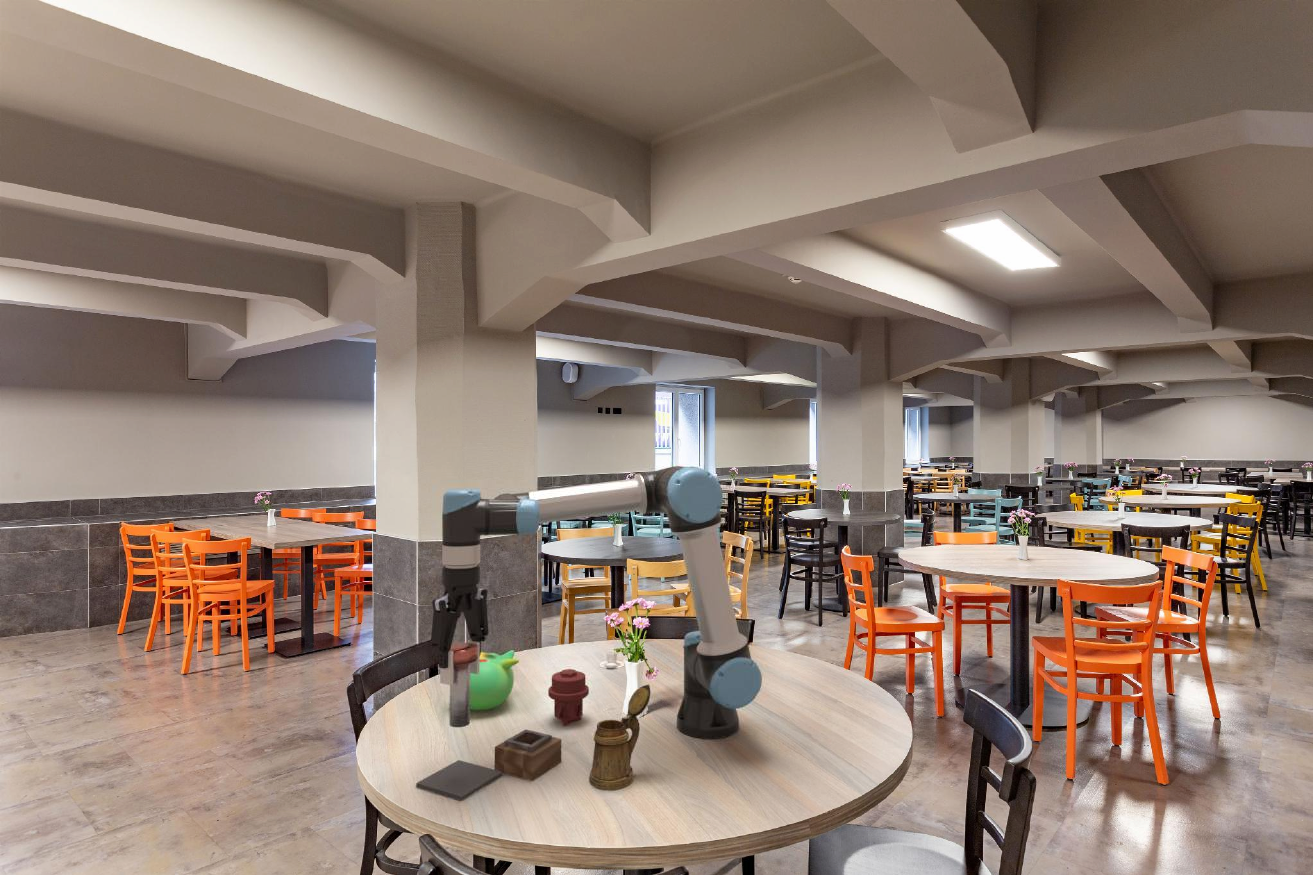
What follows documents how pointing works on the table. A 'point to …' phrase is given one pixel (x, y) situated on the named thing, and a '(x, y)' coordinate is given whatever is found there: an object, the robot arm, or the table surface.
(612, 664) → the white ring with peg
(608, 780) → the wooden mug
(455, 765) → the rubber mat
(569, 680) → the mechanical component
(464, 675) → the peg
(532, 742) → the eye block
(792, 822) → the table surface
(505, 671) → the toy bird
